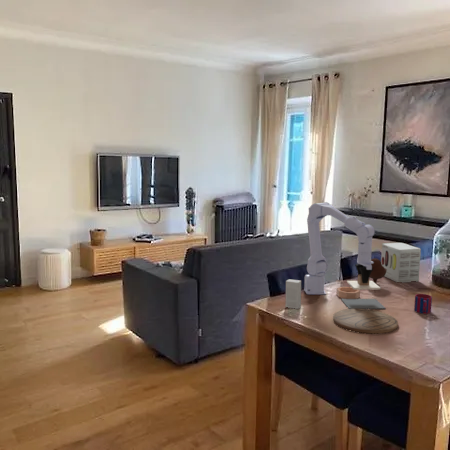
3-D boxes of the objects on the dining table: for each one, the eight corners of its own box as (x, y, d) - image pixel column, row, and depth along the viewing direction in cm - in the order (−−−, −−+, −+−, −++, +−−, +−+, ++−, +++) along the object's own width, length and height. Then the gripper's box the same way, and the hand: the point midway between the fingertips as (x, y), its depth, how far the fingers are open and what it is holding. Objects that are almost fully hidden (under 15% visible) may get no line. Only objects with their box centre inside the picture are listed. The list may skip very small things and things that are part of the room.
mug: (430, 309, 202) (431, 294, 201) (431, 317, 193) (432, 301, 192) (414, 307, 205) (415, 293, 204) (414, 315, 196) (415, 299, 195)
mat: (348, 309, 203) (349, 307, 202) (341, 299, 215) (341, 298, 215) (385, 309, 203) (385, 307, 203) (375, 299, 216) (375, 298, 216)
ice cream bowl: (389, 289, 232) (390, 260, 230) (366, 289, 232) (368, 260, 230) (382, 283, 243) (384, 255, 240) (361, 283, 243) (362, 255, 241)
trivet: (320, 320, 189) (320, 316, 189) (359, 309, 204) (359, 304, 204) (371, 340, 170) (372, 335, 169) (410, 325, 184) (411, 321, 184)
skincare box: (301, 306, 206) (301, 280, 204) (298, 309, 202) (299, 282, 200) (287, 304, 208) (288, 278, 207) (284, 307, 205) (285, 281, 203)
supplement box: (379, 274, 261) (381, 243, 259) (400, 273, 264) (402, 242, 262) (397, 283, 245) (399, 249, 242) (419, 281, 248) (421, 248, 245)
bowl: (340, 299, 217) (340, 292, 216) (335, 292, 227) (335, 286, 226) (361, 299, 217) (361, 292, 217) (355, 292, 227) (355, 286, 226)
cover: (354, 289, 202) (354, 278, 202) (346, 282, 214) (347, 272, 213) (380, 289, 203) (381, 278, 202) (371, 282, 214) (372, 272, 213)
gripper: (379, 255, 199) (377, 286, 201) (368, 248, 213) (367, 277, 215) (362, 255, 199) (361, 286, 201) (353, 248, 213) (351, 277, 215)
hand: (363, 281), depth 208 cm, fingers closed on cover, 4 cm apart
